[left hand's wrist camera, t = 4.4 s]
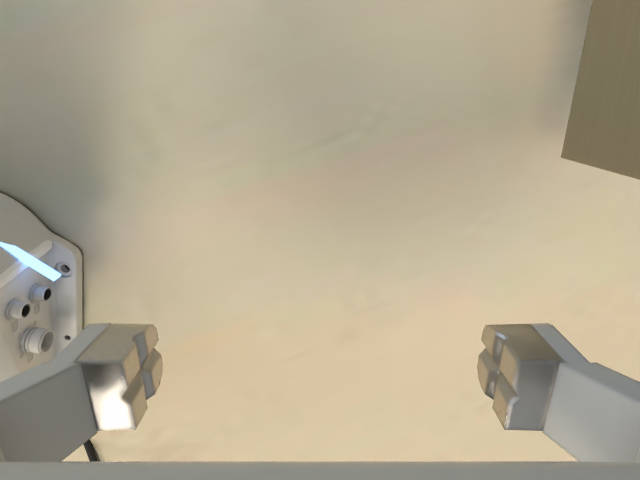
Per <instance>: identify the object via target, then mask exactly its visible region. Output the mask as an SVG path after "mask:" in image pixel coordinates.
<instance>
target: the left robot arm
mask: <svg viewBox="0 0 640 480" xmlns="http://www.w3.org/2000/svg"><path fill="white" fill-rule="evenodd" d="M65 265H67V266H68V267H69V269H70V270H68V269H67V268H66V267H65ZM158 340H159V339H158V334H157V329H156V327H155V326H154V325H153V324H111V323H100V324H89V325H87V326H86V327H85V328H84V329H83V294H82V254H81V252H80V250H79V249H78V248H77V247H76V246H75V245H73V244H72V243H70V242H69V241H67V240H65V239H63V238H61V237H59V236H57V235H56V234H54V233H52V232H51V231H50V230H49V229H47V228H46V227H45V226H44V225H43V224H42V222H41V221H40V220H39V219H38V218H37V217H36V216H35V215H34V214H33V213H32V212H30V211H29V210H28V209H27V208H26V207H24V206H23V205H22V204H20V203H19V202H17V201H16V200H14V199H12V198H11V197H9V196H7V195H5V194H3V193H0V480H640V382H638V381H636V380H634V379H632V378H629V377H627V376H625V375H623V374H620V373H618V372H616V371H614V370H612V369H609V368H607V367H605V366H603V365H601V364H598V363H590V362H589V361H588V360H587V359H586V358H585V357H584V356H583V355H582V354H581V353H580V352H579V351H578V350H577V349H576V348H575V347H574V346H573V345H572V344H571V343H570V342H569V341H568V340H567V339H566V338H565V337H564V336H563V335H562V334H561V333H560V332H559V331H558V330H557V329H556V328H555V327H554V326H553V325H551V324H548V323H538V324H507V325H485V328H484V330H483V333H482V339H481V340H482V342H483V343H484V345H485V346H486V348H485V349H484V350H483V351H482V352H481V354H480V355H479V358H478V366H477V367H478V378H479V381H480V384H481V387H482V389H483V391H484V393H485V394H486V395H487V396H489V397H490V398H492V399H493V400H494V402H493V410H494V411H495V413H496V415H497V417H498V419H499V421H500V422H501V424H502V426H503V428H504V430H534V431H543V433H544V434H545V435H546V436H548V437H549V438H550V439H551V440H553V441H554V442H555V443H556V444H558V445H559V446H560V447H562V448H563V449H564V450H565V451H567V452H568V453H569V454H570V455H572V456H573V457H574V458H575V459H577V460H578V461H579V462H98V461H97V459H96V456H95V453H94V450H93V447H92V445H91V442H90V440H89V439H90V438H91V437H93V436H94V435H95V434H96V433H97V431H105V430H136V428H137V426H138V424H139V422H140V421H141V419H142V417H143V415H144V413H145V411H146V410H147V402H146V400H147V399H148V398H150V397H151V396H153V395H154V394H155V393H156V391H157V389H158V387H159V385H160V381H161V377H162V358H161V355H160V354H159V352H158V351H157V350H156V349H155V348H154V346H155V345H156V343H157V342H158ZM82 444H84V446H85V449H86V452H87V455H88V457H89V460H90V462H61V461H62V460H63V459H65V458H66V457H67V456H69V455H70V454H71V453H72V452H74V451H75V450H76V449H77V448H79V447H80V446H81V445H82Z"/></svg>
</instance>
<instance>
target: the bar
mask: <svg viewBox="0 0 640 480" xmlns="http://www.w3.org/2000/svg"><path fill="white" fill-rule="evenodd" d="M561 158H564V159H567V160H571V161H575V162H578V163H582V164H585V165H589V166H593V167H596V168H600V169H603V170H607V171H611V172H614V173H618V174H621V175H625V176H629V177H632V178H636V179H639V180H640V0H593V2H592V7H591V11H590V16H589V21H588V26H587V31H586V36H585V41H584V46H583V51H582V56H581V61H580V66H579V71H578V76H577V81H576V86H575V91H574V96H573V100H572V105H571V110H570V115H569V120H568V125H567V130H566V135H565V140H564V145H563V150H562V155H561Z"/></svg>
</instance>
